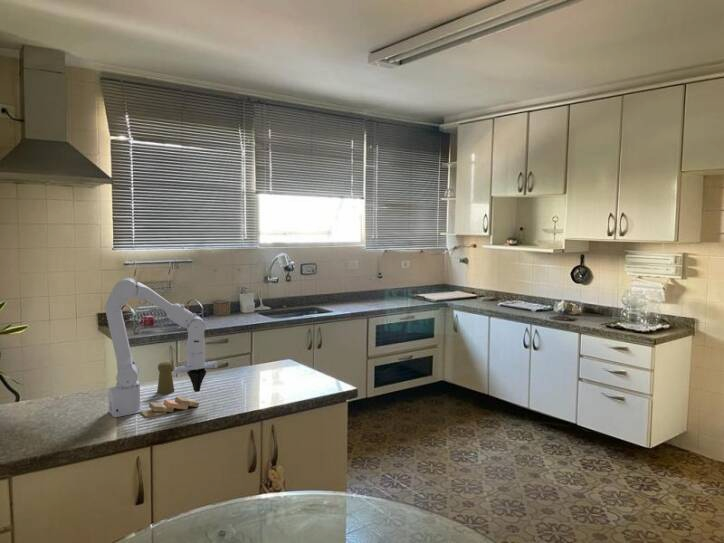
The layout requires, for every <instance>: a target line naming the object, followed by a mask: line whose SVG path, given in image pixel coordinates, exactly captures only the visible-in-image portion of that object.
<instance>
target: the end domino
mask: <svg viewBox="0 0 724 543" xmlns="http://www.w3.org/2000/svg"><path fill="white" fill-rule="evenodd" d="M174 401H176V402H177V403H179V404H180V405H187V406H188V407H195V408H199V406H200V402H199V401H197V400H195V399H193V398H187V397H181V396H175V398H174Z"/></svg>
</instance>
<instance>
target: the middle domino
mask: <svg viewBox="0 0 724 543" xmlns="http://www.w3.org/2000/svg"><path fill="white" fill-rule="evenodd" d="M148 407H149V409H150V410H153V411H163V412H166V413H174V410H175V408H171V407H168V406H166V405H165V404H164V403H162V402H161V403H159V402H149V404H148Z"/></svg>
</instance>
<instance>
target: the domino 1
mask: <svg viewBox="0 0 724 543" xmlns="http://www.w3.org/2000/svg"><path fill="white" fill-rule="evenodd" d="M140 414H141V415H142V416H143V417H144V418H145V417H146V418H145V419H148V418H152V417H157V415H158V416H162V414H163V415H166V414H167V412H163V411H153V410H152V409H148V410H144V411H142V412H140Z"/></svg>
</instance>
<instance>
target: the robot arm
mask: <svg viewBox="0 0 724 543" xmlns="http://www.w3.org/2000/svg"><path fill="white" fill-rule="evenodd" d="M134 297H135V300H146V301H148V302H149V303H151V304H153V305H154V306H156V307H157V308H159V309H161V310H162V311H164V312H165V313H166V317H167V319H169V320H170V321H172V322H174V323H175V324H177V325H179V327H181V328H183V329H186V330H187V340H186V343H187V344H186V345H187V348H186V349H187V364H184V365H179V366H175V367H174V366H173V369H174V370H173V371H174V374H176V375H179V374H181V373H187V375H188V377H189V379H190V382H191V383H192V389H193V392H196V393H197V392H200V391H201V387H202V384H203V381H204V378H205V377H206V374H207V370H208V369H217V368H218V366H219V365H218V361H216V360H214V361H206V342H205V341H206V339H205V332H206V328H207V327H206V325H205V321H204V319H203V318H201V316H200V315H197V313H195V312H192V311H190V310H189V309H187V308H186V306H185V305H184V304H183V303H181V304H180V303H178V302H176V303H171V302H169V301H168V300H167V299H165V298H164V297H163V296H161V295H160V294H159V293H157V292H156V291H155V290H153V289H152V288H150V287H149V286H147V285H145V284H143V283H142V282H140V281H137V280H136V279H134V278H132V277H128V276H127V277H124V278H122V279H120V280H119V281H118V282H117V283H116V284H115V285H114V286H113V287H112V289H111V292H110V293H109V296H108V298H107V300H106V302H105V305H104V309H105V315H106V319H107V323H108V324H107V325H108V329H109V332H110V337H111V341H112V345H113V350H114V355H115V359H116V369H117V374H116V377H115V378H116V379H115V380H116V384H115V386H112V387H109V388H108V391H107V392H108V393H107V394H108V395H107V397H108V399H107V400H108V402H107V403H108V405H107V406H108V409H107V411H108V413H109V414H110V415H111V416H112V417H113V418H119V417H123V416H130V415H133V414H134V415H135V414H141V412H142V411H145V409H144V408H142V407H141V383H140V381H139V380H138V375H139V372H140V370H139V369H140V368H139V366H138V364H136V363H135V361H134V357H133V355H132V352H131V350H132V349H131V346H130V341H129V338H128V337H129V336H128V333H127V329H126V328H127V327H126V324H125V319H124V314H123V311H122V308H123V307H124V306H125V304H126V303H127V302H128V301H130V300H132V298H134ZM205 369H206V370H205Z"/></svg>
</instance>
